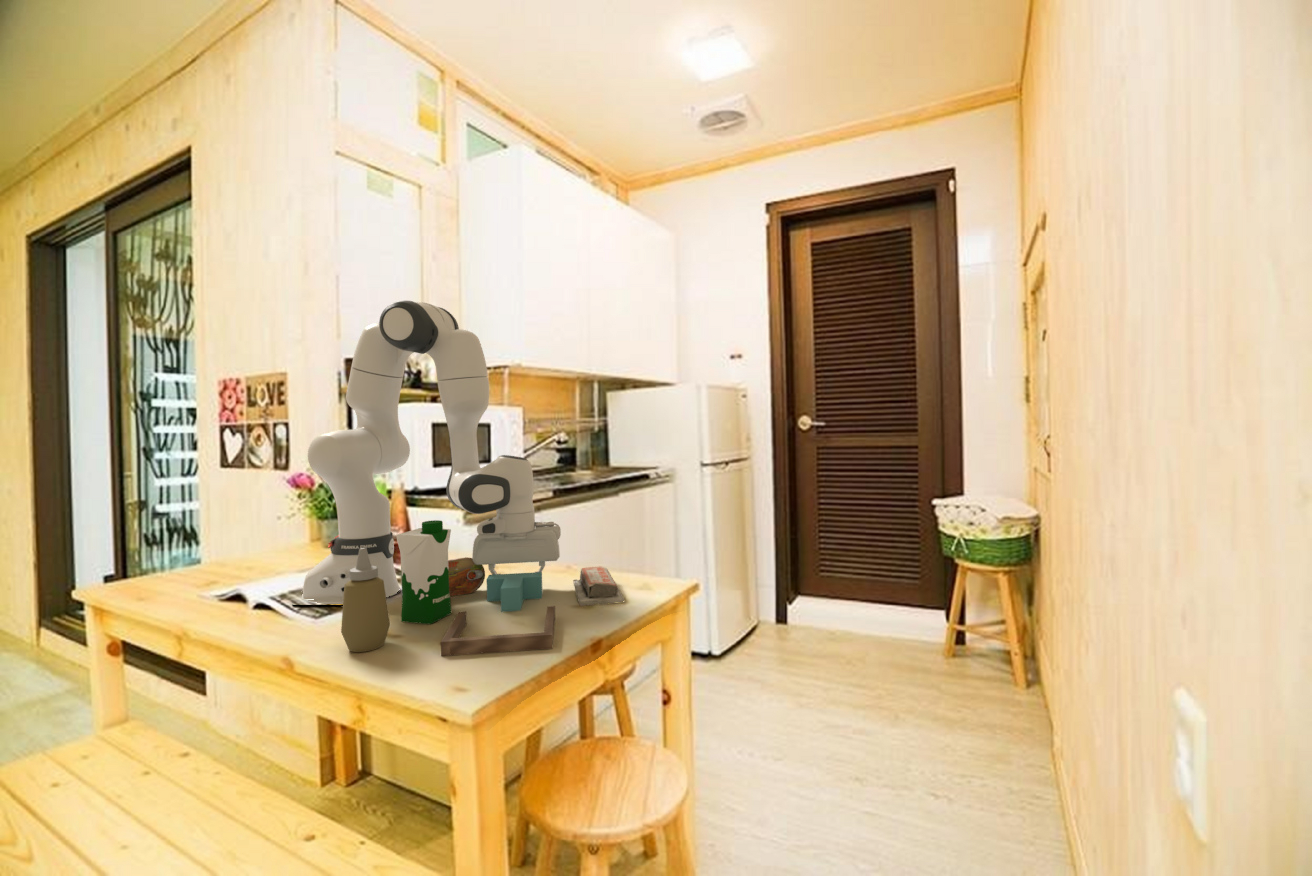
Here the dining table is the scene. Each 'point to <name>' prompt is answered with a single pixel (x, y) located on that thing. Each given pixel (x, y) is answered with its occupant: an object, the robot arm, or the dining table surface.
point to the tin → (464, 576)
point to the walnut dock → (495, 638)
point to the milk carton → (425, 573)
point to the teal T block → (514, 589)
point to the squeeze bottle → (364, 607)
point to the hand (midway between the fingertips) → (517, 580)
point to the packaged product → (596, 587)
